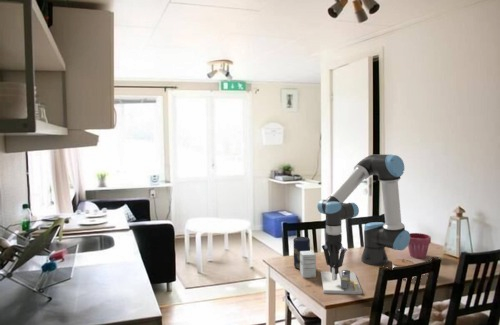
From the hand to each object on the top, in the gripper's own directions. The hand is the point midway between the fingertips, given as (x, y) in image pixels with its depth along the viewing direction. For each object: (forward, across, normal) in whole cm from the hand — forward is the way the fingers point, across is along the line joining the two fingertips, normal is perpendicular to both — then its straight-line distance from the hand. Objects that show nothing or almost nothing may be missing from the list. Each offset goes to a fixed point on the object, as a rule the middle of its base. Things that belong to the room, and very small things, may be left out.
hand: (334, 279), depth 198 cm
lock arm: (+2, +4, +3) cm, 6 cm away
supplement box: (+4, -20, +6) cm, 21 cm away
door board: (+4, 0, +6) cm, 7 cm away
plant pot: (+5, +15, +75) cm, 77 cm away
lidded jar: (+5, +21, +35) cm, 41 cm away
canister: (+4, -30, +15) cm, 34 cm away
